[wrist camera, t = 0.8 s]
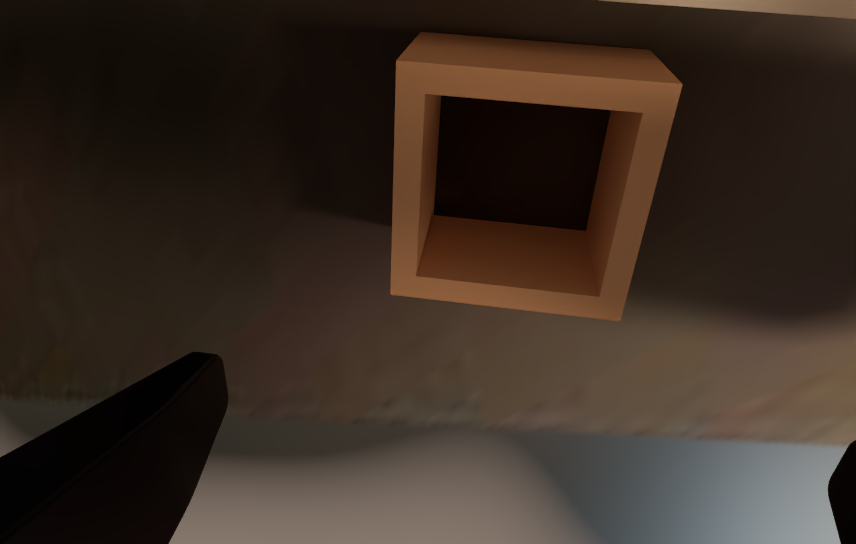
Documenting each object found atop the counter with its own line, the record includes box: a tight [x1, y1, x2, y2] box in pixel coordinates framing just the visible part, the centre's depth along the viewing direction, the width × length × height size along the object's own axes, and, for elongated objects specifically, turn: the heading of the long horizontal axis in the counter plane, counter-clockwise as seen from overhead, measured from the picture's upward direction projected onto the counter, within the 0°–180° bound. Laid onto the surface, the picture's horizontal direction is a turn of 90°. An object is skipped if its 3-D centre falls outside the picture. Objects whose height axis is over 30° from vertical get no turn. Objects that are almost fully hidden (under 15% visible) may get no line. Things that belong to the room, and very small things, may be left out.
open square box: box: [391, 32, 683, 321], centre depth 17 cm, size 6×6×4 cm
